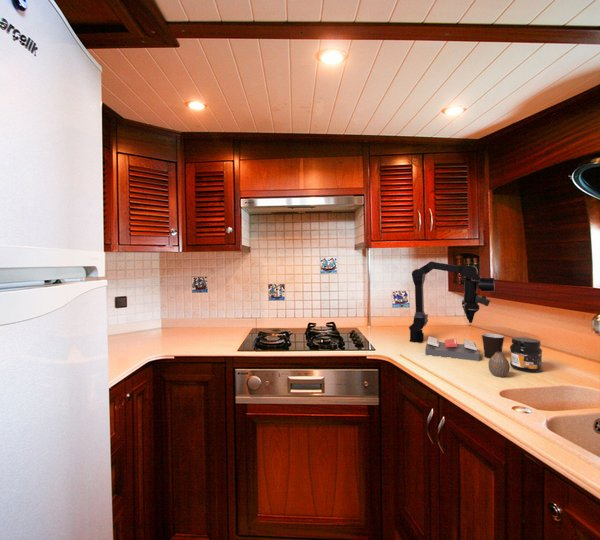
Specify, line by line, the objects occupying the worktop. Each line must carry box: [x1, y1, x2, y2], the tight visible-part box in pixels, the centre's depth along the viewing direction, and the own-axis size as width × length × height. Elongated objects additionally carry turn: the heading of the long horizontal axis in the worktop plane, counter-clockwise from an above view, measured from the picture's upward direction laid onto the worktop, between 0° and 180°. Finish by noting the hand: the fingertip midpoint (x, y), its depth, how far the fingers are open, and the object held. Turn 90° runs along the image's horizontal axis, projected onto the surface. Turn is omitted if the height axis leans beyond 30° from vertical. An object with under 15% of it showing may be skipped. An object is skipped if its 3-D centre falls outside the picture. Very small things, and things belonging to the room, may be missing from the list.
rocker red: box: [444, 338, 458, 347], centre depth 152 cm, size 5×11×1 cm, turn 155°
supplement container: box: [509, 336, 543, 374], centre depth 128 cm, size 10×10×12 cm
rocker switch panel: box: [424, 341, 480, 362], centre depth 150 cm, size 22×16×3 cm
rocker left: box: [426, 336, 440, 347], centre depth 155 cm, size 5×11×1 cm, turn 156°
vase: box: [488, 352, 511, 378], centre depth 120 cm, size 7×7×9 cm
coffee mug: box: [481, 332, 505, 360], centre depth 144 cm, size 12×9×10 cm
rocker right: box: [462, 339, 478, 351], centre depth 148 cm, size 5×11×1 cm, turn 156°
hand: (469, 321), depth 158 cm, fingers open, 9 cm apart
